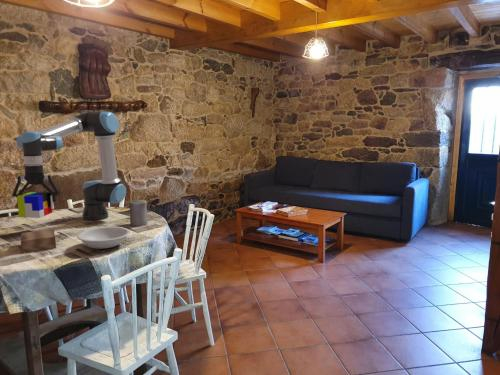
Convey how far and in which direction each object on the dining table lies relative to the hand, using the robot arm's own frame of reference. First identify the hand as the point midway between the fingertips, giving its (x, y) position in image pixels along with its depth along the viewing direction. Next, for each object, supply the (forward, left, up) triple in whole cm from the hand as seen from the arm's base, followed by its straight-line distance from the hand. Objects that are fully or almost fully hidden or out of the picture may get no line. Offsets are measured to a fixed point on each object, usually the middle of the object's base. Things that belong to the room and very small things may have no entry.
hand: (37, 209), depth 183 cm
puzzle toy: (+1, +2, -2) cm, 3 cm away
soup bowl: (-29, +12, -18) cm, 36 cm away
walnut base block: (+1, +1, -18) cm, 18 cm away
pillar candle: (-48, -23, -18) cm, 56 cm away
